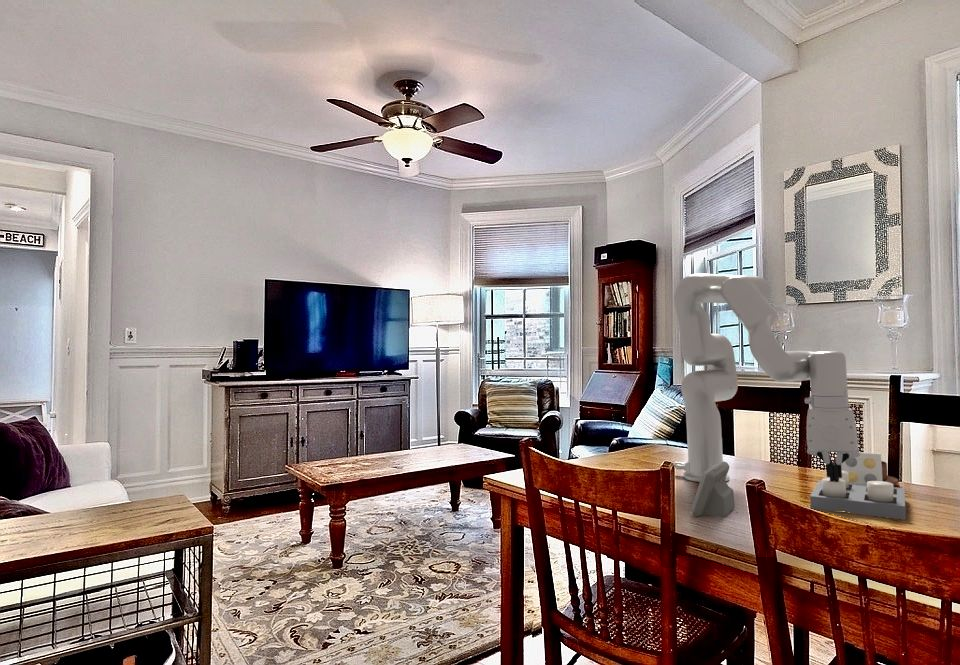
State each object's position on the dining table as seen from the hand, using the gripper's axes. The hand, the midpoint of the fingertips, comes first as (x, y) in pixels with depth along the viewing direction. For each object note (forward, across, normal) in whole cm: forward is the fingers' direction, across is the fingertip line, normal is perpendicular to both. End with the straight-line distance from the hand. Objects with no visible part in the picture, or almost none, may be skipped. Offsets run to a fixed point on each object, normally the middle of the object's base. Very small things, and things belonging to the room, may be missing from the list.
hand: (834, 480), depth 136 cm
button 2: (+3, 0, +9) cm, 10 cm away
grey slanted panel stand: (+6, -24, -16) cm, 30 cm away
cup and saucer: (+7, +6, +29) cm, 30 cm away
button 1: (+4, 0, 0) cm, 4 cm away
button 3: (+3, +9, 0) cm, 9 cm away
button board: (+6, +4, +5) cm, 9 cm away
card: (+6, +4, +19) cm, 20 cm away
